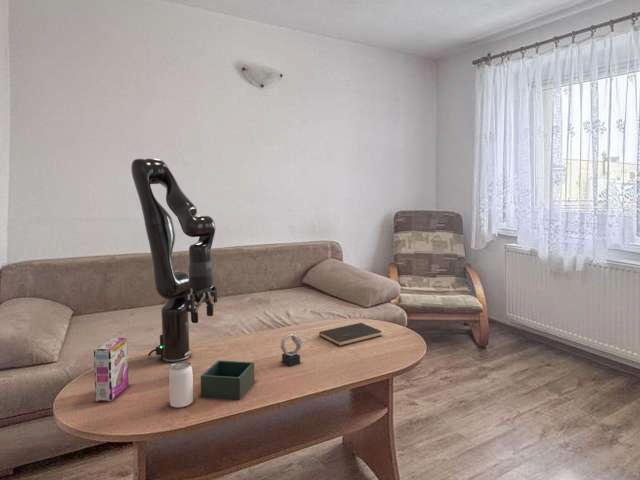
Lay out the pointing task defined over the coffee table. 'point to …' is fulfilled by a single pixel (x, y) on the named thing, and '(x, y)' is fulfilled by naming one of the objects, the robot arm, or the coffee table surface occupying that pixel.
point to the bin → (227, 379)
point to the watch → (291, 357)
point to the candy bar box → (111, 369)
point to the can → (181, 384)
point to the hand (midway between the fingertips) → (202, 319)
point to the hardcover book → (350, 334)
